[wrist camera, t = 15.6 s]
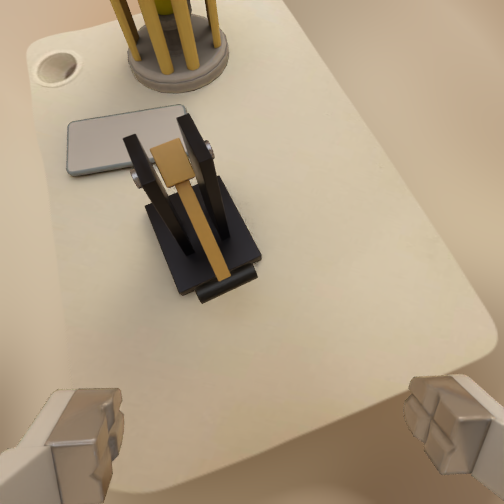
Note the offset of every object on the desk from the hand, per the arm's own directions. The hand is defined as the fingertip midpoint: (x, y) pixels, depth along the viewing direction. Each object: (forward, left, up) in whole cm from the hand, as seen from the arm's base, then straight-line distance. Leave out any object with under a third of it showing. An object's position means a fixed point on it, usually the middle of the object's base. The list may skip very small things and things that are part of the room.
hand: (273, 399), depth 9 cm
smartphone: (+25, +21, -21) cm, 39 cm away
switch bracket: (+14, +9, -21) cm, 27 cm away
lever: (+11, +7, -12) cm, 18 cm away
